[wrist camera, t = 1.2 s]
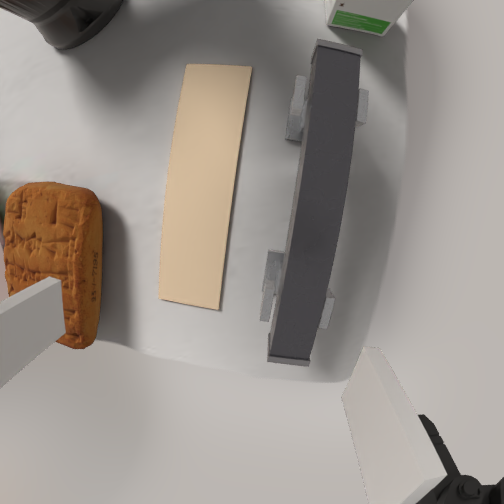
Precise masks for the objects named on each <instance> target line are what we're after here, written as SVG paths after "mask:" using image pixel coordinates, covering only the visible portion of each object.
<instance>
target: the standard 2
mask: <svg viewBox="0 0 504 504" xmlns="http://www.w3.org/2000/svg"><path fill="white" fill-rule="evenodd" d="M306 78H307V77H306V76H300V75H297V77H296V81H295V85H294V93H293V98H292V97H291V101H290V109H289V116H288V123H287V130H286V138H285V139H288V140H294V141H300V142H302V138H303V131H304V123H305V115H306V108H307V100H308V98H307V100H304V94H305V86H306ZM368 93H369V91H367V90H364V89H359V90H358V101H357V112H356V122H355V128H359V127H360V126H362V125H364V124H365V123H366V117H367V106H368Z"/></svg>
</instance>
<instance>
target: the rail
mask: <svg viewBox="0 0 504 504" xmlns="http://www.w3.org/2000/svg"><path fill="white" fill-rule="evenodd" d="M361 56H362V49H359V48H355V47H352V46H348V45H344V44H339V43H335V42H331V41H326V40H321V39H317V42H316V45H315V48H314V51H313V55H312V58H311V64H312V66H311V74H310V83H309V91H308V100H307V108H306V115H305V123H304V131H303V138H302V145H301V152H300V159H299V166H298V173H297V180H296V186H295V193H294V199H293V206H292V212H291V218H290V224H289V231H288V237H287V242H286V248H285V254H284V260H283V266H282V271H281V277H280V283H279V288H278V293H277V299H276V304H275V310H274V315H273V320H272V325H271V330H270V333H269V335H268V352H267V362H273V363H281V364H289V365H299V366H309V363H310V358H309V357H310V354H311V350H312V347H313V343H314V339H315V336H316V332H317V328H318V324H319V321H320V317H321V313H322V309H323V305H324V301H325V296H326V292H327V288H328V284H329V279H330V275H331V270H332V266H333V261H334V256H335V251H336V246H337V241H338V236H339V231H340V226H341V220H342V215H343V209H344V203H345V197H346V191H347V184H348V178H349V171H350V164H351V156H352V148H353V140H354V131H355V122H356V112H357V101H358V88H359V74H360V58H361Z"/></svg>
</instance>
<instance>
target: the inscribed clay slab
mask: <svg viewBox="0 0 504 504" xmlns="http://www.w3.org/2000/svg"><path fill="white" fill-rule="evenodd" d="M3 235H4V238H5V248H4V262H5V267H6V271H5V278H6V281H7V285H8V294H9V297H10V296H12V295H14V294H16V293H18V292H20V291H22V290H24V289H26V288H28V287H30V286H32V285H33V284H35V283H37V282H39V281H41V280H43V279H45V278H47V277H49V276H50V277H53V278H56V279H59V280H61V289H62V303H63V313H64V322H65V330H66V333H65V334H64V335H62V336H61V337H60V338H59V339H58V340H56V341H55V342H58V343H60V344H63V345H65V346H68V347H70V348H73V349H85V348H86V347H88V346H90V345H91V344H92V343H93V342H94V340H95V338H96V334H97V328H98V323H99V314H100V304H101V284H102V242H103V223H102V210H101V206H100V203H99V201H98V198H97V196H96V195H95V193H94V192H93V191H91V190H89V189H87V188H82V187H76V186H70V185H64V184H61V183H56V182H35V183H28V184H26V185H24V186H22V187H19V188H18V189H17V190H15V191H14V192H13V193H12V194H11V195H10V196H9V198H8V199H7V203H6V216H5V222H4V231H3Z"/></svg>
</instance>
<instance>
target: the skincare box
mask: <svg viewBox="0 0 504 504" xmlns="http://www.w3.org/2000/svg"><path fill="white" fill-rule="evenodd" d="M413 1H414V0H324V2H325V14H326V24H327V25H328V26H334V27H341V28H345V29H351V30H356V31H361V32H366V33H370V34H374V35H378V36H382V37H383V36H384V35H385V34H386V33H387V32H388V30H389V29H390V28H391V27H392V26H393V24H394V23H395V22H396V21H397V20H398V18H399V17H400V16H401V15H402V14H403V12H404V11H405V10H406V9H407V8H408V7H409V5H410V4H411V3H412V2H413Z"/></svg>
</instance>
